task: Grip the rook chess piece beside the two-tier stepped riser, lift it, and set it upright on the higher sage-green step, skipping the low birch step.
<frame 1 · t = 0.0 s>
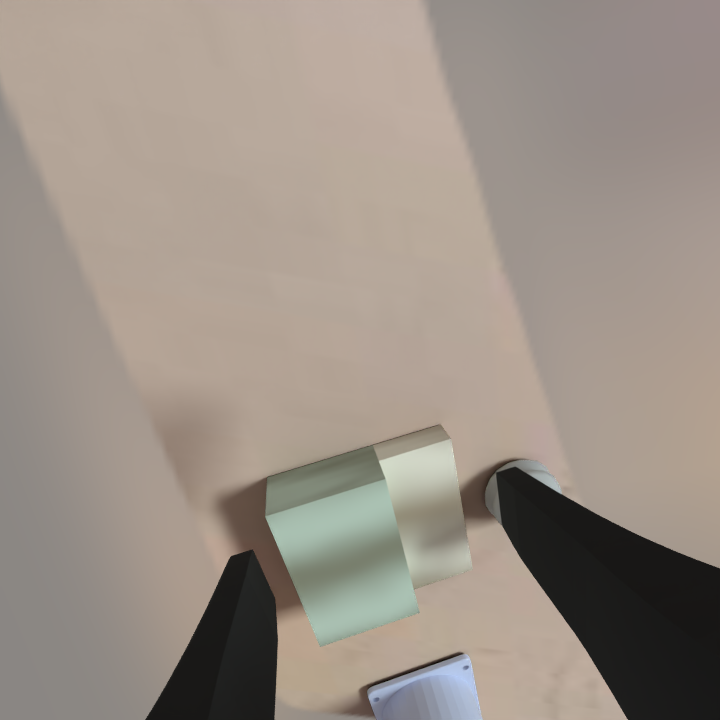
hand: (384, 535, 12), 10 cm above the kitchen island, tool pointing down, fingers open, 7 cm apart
rook chess piece: (512, 483, 26), on the kitchen island
stepped riser: (374, 517, 24), on the kitchen island
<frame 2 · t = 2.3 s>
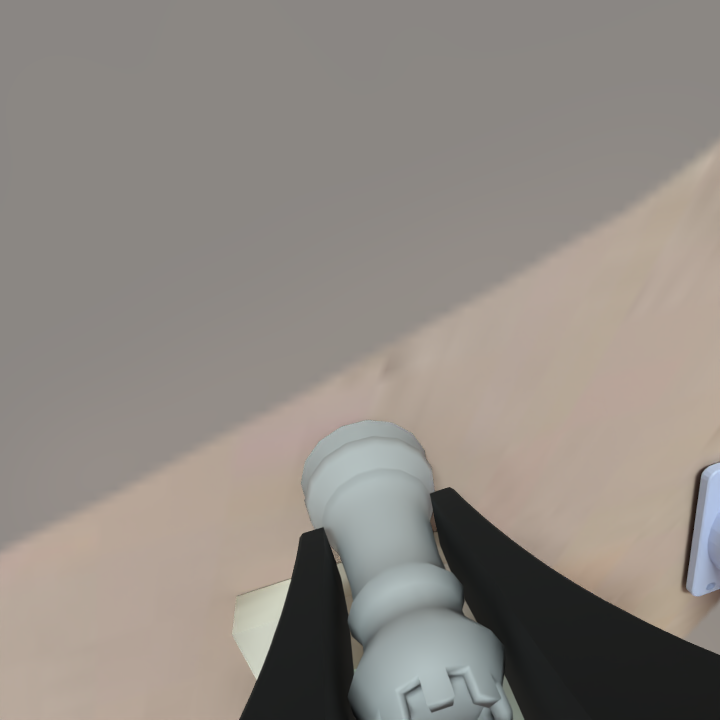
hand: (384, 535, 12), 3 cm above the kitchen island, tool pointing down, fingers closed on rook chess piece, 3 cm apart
rook chess piece: (362, 464, 15), on the kitchen island, touching gripper
stepped riser: (385, 635, 18), on the kitchen island
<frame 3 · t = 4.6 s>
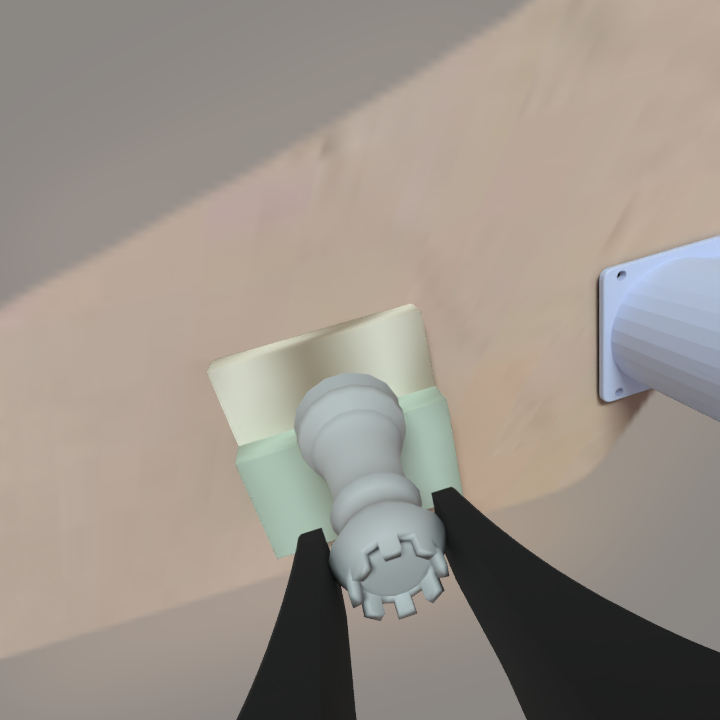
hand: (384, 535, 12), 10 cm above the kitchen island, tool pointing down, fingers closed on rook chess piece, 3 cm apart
rook chess piece: (346, 413, 17), point 4 cm above the kitchen island, touching gripper
stepped riser: (339, 417, 22), on the kitchen island
when the fingers open (7 cm above the kitchen island, at t = 6.0 s): rook chess piece stays where it is, resting on stepped riser.
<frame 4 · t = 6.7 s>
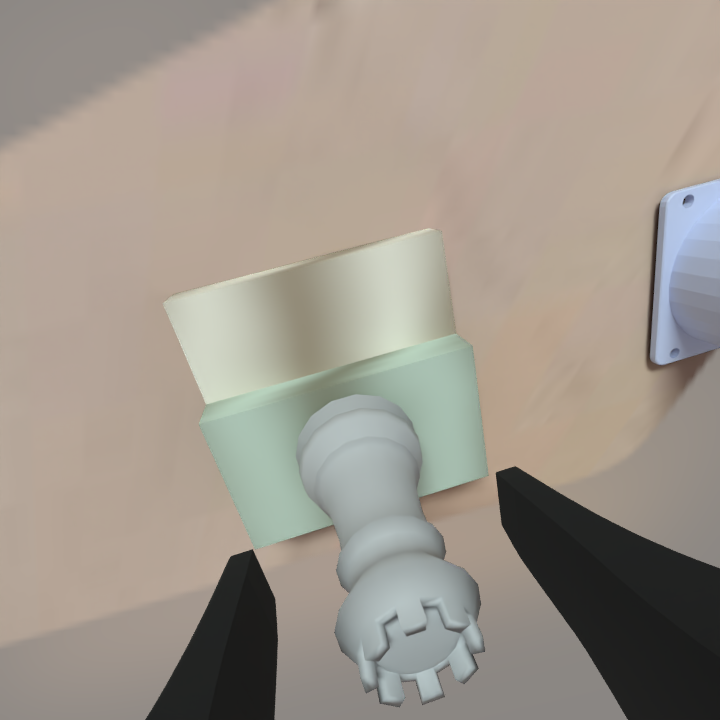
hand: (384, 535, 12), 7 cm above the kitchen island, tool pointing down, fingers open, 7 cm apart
rook chess piece: (354, 439, 15), point 3 cm above the kitchen island, touching stepped riser
stepped riser: (335, 375, 17), on the kitchen island
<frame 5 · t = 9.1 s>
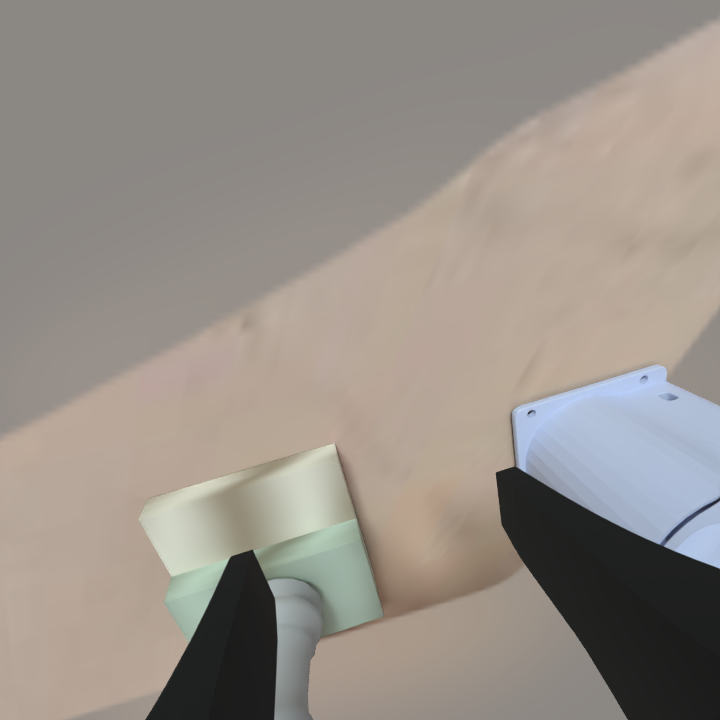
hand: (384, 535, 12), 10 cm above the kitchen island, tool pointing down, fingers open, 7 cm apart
rook chess piece: (279, 600, 21), point 3 cm above the kitchen island, touching stepped riser
stepped riser: (271, 539, 23), on the kitchen island
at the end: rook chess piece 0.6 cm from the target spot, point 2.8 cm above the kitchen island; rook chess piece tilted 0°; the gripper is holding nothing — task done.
